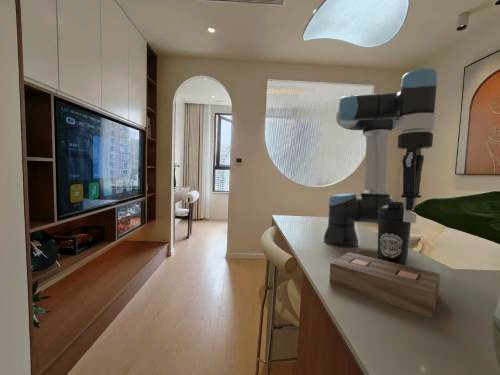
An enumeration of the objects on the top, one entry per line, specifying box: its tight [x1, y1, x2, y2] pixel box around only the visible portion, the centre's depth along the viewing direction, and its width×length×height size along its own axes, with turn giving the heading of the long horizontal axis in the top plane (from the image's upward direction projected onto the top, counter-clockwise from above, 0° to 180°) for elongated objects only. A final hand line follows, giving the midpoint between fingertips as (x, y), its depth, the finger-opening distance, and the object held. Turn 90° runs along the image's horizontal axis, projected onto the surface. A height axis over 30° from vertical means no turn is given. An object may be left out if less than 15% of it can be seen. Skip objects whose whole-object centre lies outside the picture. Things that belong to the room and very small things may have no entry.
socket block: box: [329, 251, 441, 319], centre depth 66 cm, size 14×24×6 cm, turn 46°
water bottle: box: [377, 201, 412, 266], centre depth 80 cm, size 10×10×23 cm
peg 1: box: [351, 259, 369, 267], centre depth 70 cm, size 4×4×6 cm
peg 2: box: [397, 270, 418, 281], centre depth 62 cm, size 4×4×6 cm
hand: (409, 221), depth 64 cm, fingers closed
